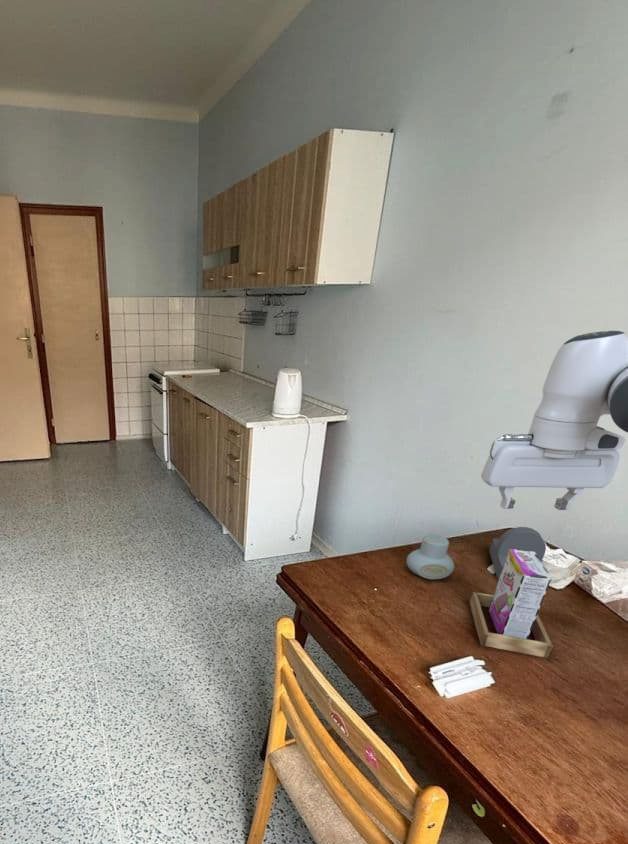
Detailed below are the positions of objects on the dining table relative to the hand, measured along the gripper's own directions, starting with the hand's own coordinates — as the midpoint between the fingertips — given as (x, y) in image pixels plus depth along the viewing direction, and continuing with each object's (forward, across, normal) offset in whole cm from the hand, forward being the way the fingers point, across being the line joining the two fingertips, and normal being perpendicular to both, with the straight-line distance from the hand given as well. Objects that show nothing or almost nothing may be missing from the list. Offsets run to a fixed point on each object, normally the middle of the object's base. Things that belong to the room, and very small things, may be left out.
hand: (533, 508), depth 88 cm
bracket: (+28, +19, +29) cm, 45 cm away
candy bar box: (+28, +4, +1) cm, 29 cm away
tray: (+28, +4, +1) cm, 29 cm away
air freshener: (+28, -5, +24) cm, 37 cm away
